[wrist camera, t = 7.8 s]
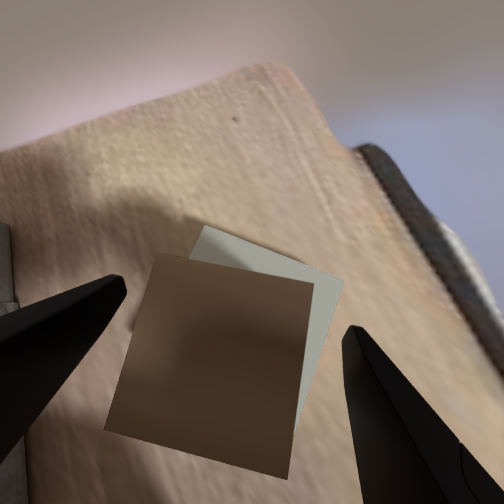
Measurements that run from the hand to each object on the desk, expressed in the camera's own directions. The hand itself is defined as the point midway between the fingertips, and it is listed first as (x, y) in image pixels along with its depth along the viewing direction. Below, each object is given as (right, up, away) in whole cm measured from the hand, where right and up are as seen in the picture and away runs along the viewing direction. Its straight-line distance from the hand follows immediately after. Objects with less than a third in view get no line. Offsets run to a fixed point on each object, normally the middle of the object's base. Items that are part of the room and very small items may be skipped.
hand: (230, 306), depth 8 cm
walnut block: (0, -3, +8) cm, 8 cm away
